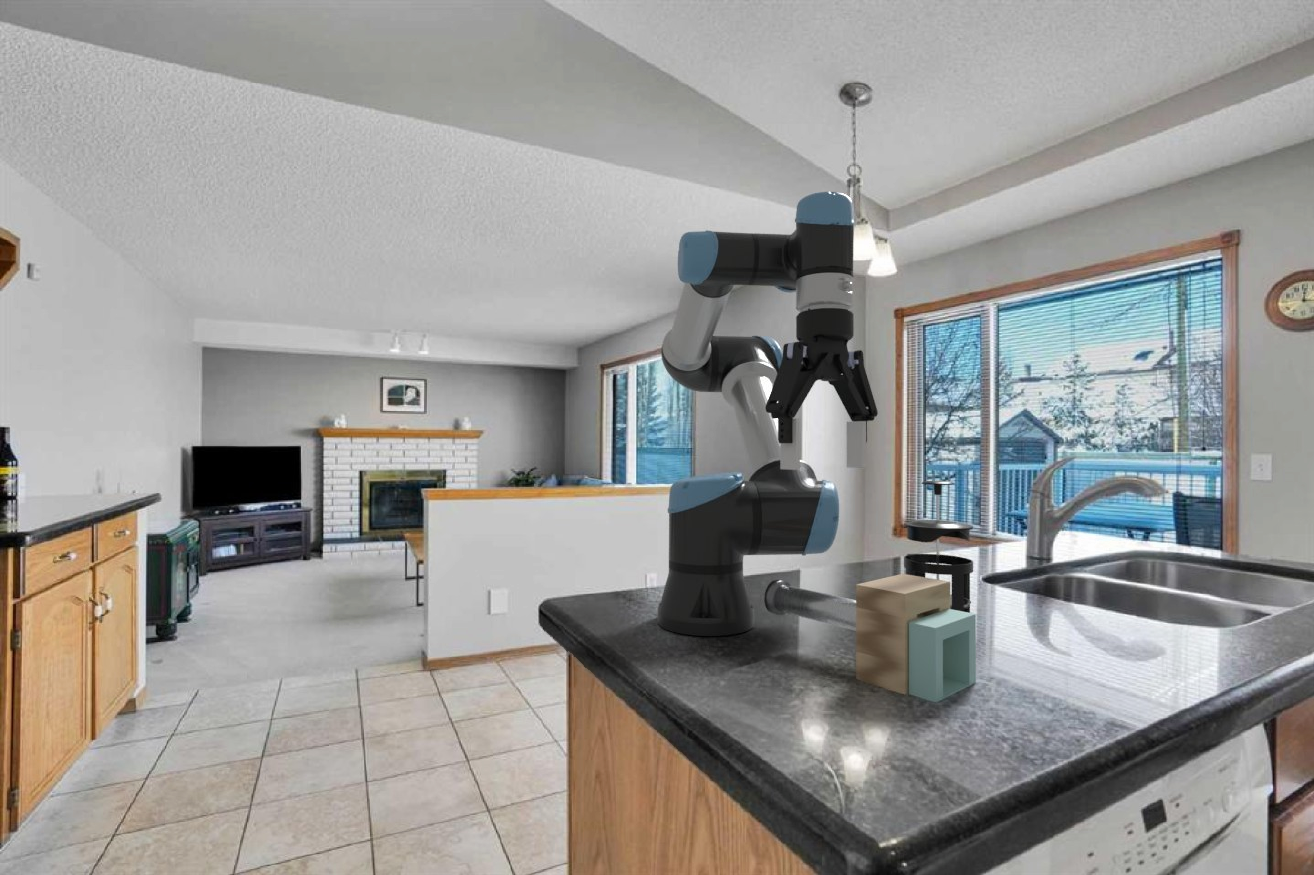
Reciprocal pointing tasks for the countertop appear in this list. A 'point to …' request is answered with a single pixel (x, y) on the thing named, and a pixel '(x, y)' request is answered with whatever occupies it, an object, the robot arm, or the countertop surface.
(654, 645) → the countertop surface
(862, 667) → the housing
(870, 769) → the countertop surface
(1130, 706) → the countertop surface
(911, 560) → the french press
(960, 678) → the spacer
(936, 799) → the countertop surface
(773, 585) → the shaft
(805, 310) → the robot arm
